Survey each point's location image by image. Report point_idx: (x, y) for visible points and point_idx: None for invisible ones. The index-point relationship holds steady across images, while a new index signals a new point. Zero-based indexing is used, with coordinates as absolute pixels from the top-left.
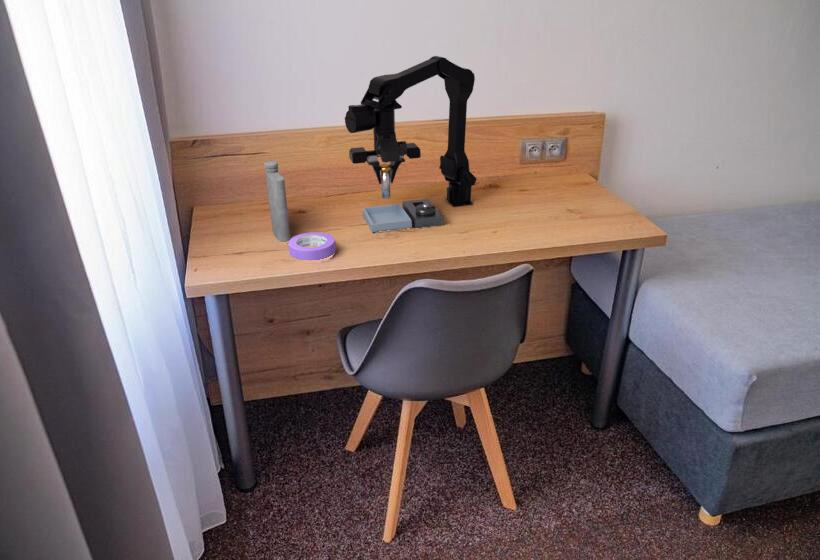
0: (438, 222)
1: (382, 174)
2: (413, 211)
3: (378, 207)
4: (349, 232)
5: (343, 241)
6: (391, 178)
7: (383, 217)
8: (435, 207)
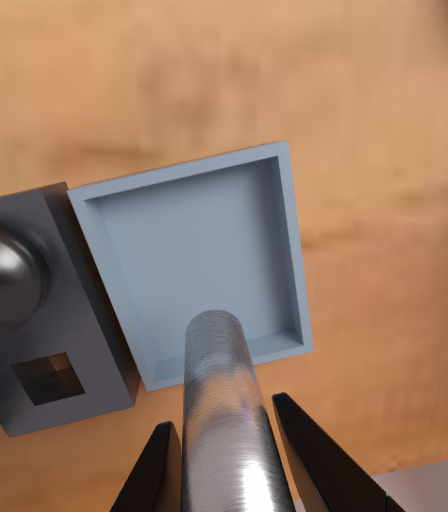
0: None
1: (285, 509)
2: (64, 293)
3: None
4: (372, 161)
5: (415, 49)
6: (162, 466)
7: (220, 301)
8: None
